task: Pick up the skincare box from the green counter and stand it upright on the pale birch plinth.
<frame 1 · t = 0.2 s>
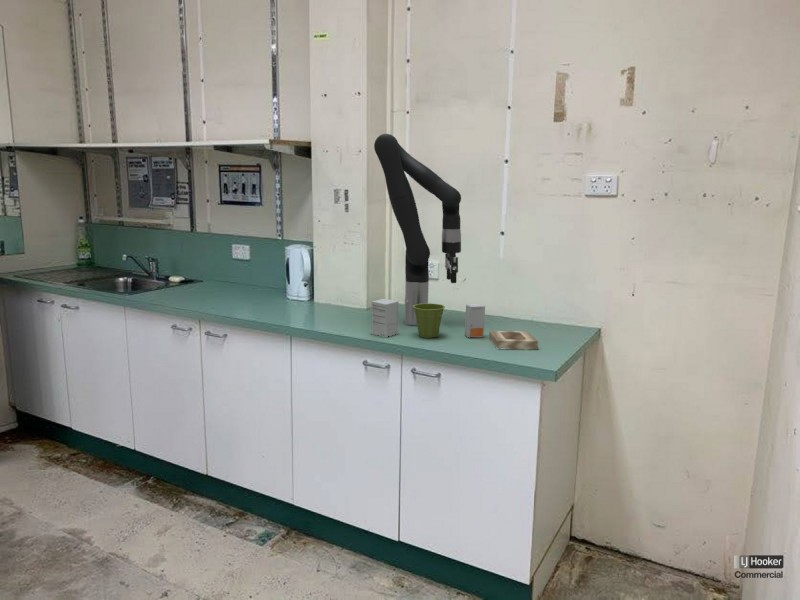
hand: (451, 281, 231), 17 cm above the countertop, tool pointing down, fingers open, 8 cm apart
birch plinth: (512, 344, 206), on the countertop
plant pot: (428, 336, 215), on the countertop
supplement box: (384, 334, 216), on the countertop
skincare box: (474, 337, 215), on the countertop
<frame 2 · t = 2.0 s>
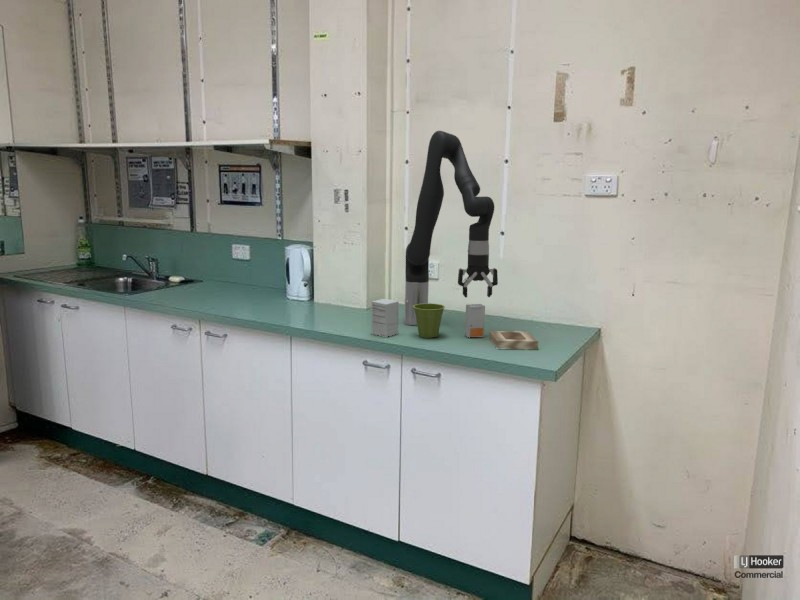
hand: (477, 296, 213), 15 cm above the countertop, tool pointing down, fingers open, 8 cm apart
nothing on the countertop moved.
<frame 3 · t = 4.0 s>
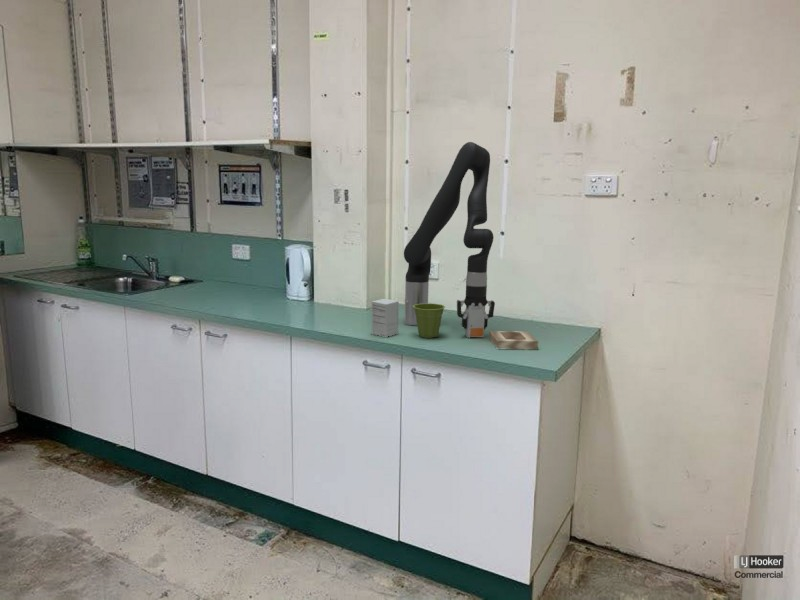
hand: (474, 328, 214), 3 cm above the countertop, tool pointing down, fingers closed on skincare box, 6 cm apart
skincare box: (474, 337, 215), on the countertop, touching gripper
everything else where it was.
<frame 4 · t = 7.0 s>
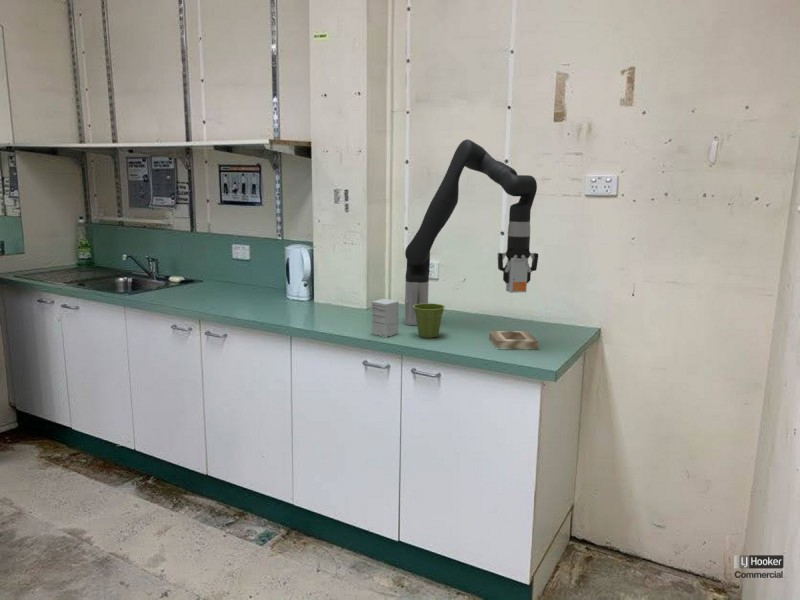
hand: (516, 282, 202), 22 cm above the countertop, tool pointing down, fingers closed on skincare box, 6 cm apart
skincare box: (516, 292, 203), point 19 cm above the countertop, touching gripper
everything else where it was.
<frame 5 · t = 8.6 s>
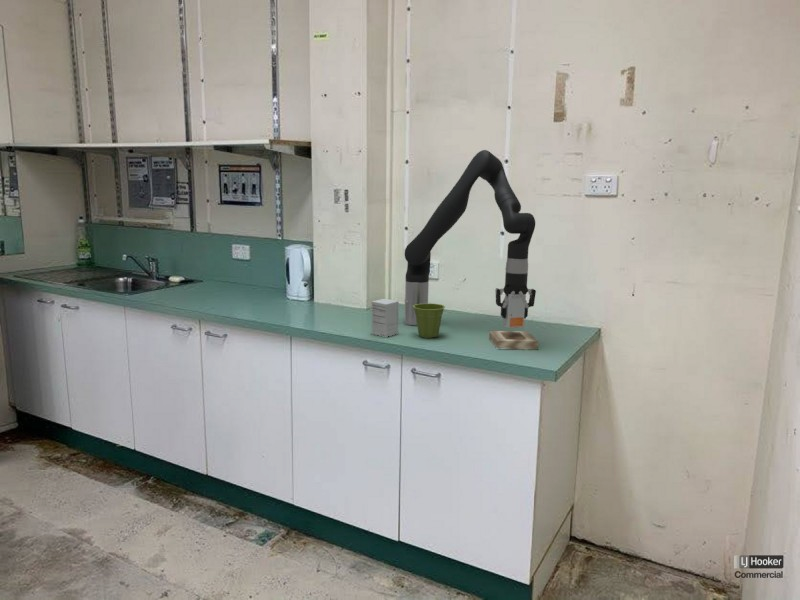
hand: (514, 317, 204), 9 cm above the countertop, tool pointing down, fingers closed on skincare box, 6 cm apart
skincare box: (513, 327, 205), point 6 cm above the countertop, touching gripper
everything else where it was.
when the fingers open (7 cm above the countertop, at t = 10.0 s): skincare box stays where it is, resting on birch plinth.
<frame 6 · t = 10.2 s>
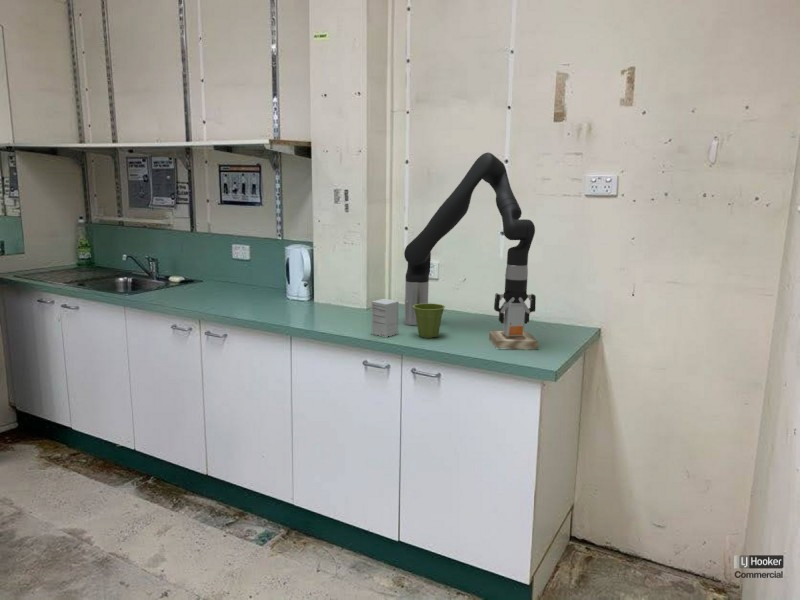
hand: (513, 323, 204), 8 cm above the countertop, tool pointing down, fingers open, 8 cm apart
skincare box: (513, 335, 205), point 3 cm above the countertop, touching birch plinth
everything else where it was.
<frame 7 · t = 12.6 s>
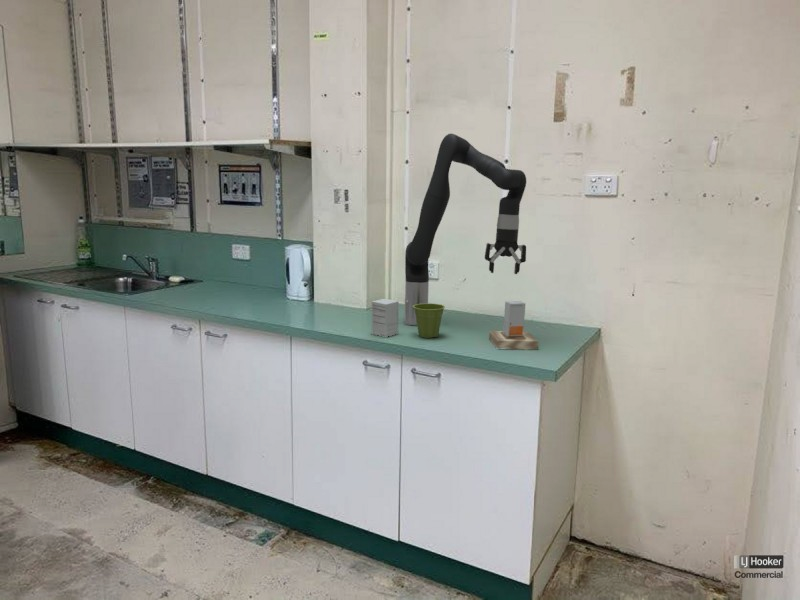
hand: (503, 273, 207), 24 cm above the countertop, tool pointing down, fingers open, 8 cm apart
nothing on the countertop moved.
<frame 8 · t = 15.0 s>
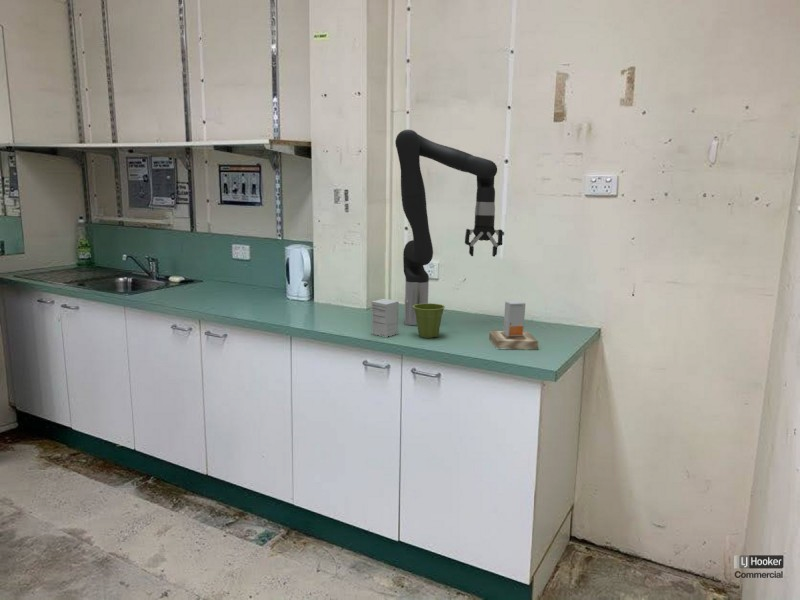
hand: (482, 256, 226), 28 cm above the countertop, tool pointing down, fingers open, 8 cm apart
nothing on the countertop moved.
at the end: skincare box inside the target area on the birch plinth (0.1 cm from its centre), point 3.0 cm above the birch plinth's base; skincare box tilted 0°; skincare box touching birch plinth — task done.
